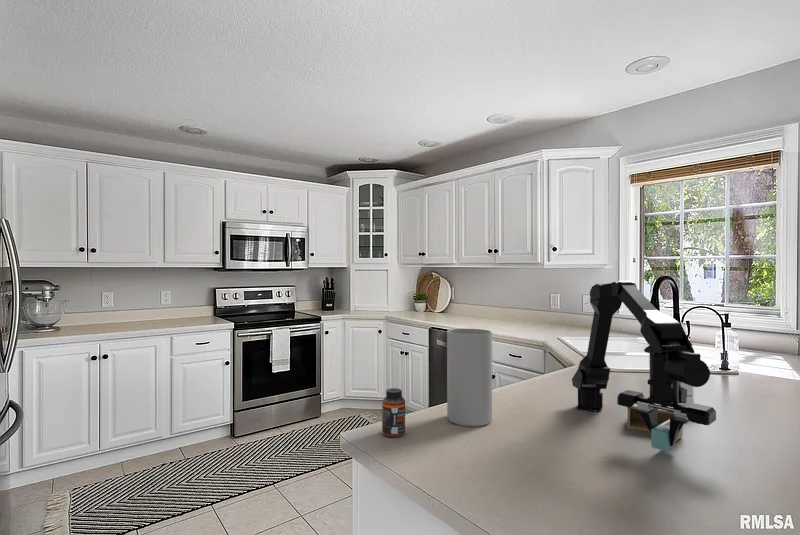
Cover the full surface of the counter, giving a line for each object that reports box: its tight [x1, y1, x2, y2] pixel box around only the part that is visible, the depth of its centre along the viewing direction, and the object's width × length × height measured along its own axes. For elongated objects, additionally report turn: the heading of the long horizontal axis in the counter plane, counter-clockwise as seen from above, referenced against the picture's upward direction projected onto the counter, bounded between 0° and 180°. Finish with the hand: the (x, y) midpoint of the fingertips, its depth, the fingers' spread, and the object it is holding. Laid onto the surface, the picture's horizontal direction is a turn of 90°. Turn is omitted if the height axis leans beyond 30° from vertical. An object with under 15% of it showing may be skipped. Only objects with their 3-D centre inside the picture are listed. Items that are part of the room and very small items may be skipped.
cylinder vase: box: [446, 328, 493, 428], centre depth 122 cm, size 12×12×25 cm
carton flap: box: [650, 419, 684, 452], centre depth 103 cm, size 18×3×6 cm, turn 129°
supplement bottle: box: [381, 387, 406, 438], centre depth 111 cm, size 6×6×11 cm
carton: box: [627, 404, 674, 432], centre depth 116 cm, size 12×8×6 cm, turn 60°
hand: (664, 443), depth 99 cm, fingers closed on carton flap, 3 cm apart
